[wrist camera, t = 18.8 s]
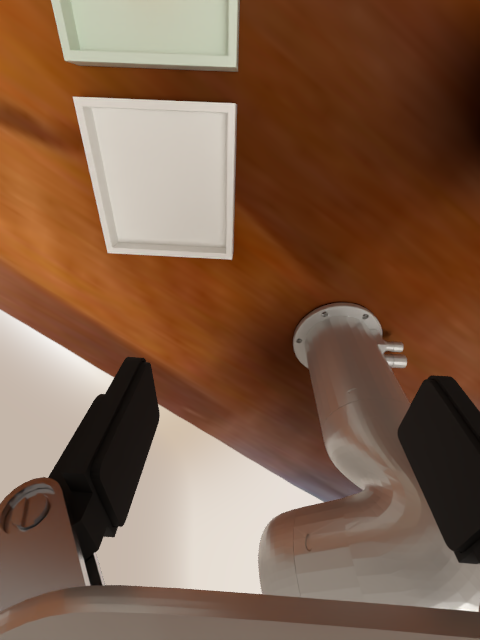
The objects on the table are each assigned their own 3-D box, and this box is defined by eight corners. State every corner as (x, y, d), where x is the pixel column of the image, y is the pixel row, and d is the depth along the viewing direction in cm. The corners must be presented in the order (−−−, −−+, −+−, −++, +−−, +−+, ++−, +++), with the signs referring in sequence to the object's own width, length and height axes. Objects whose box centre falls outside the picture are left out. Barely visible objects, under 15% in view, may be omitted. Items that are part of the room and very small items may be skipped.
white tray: (237, 104, 29) (235, 103, 27) (233, 251, 37) (232, 259, 35) (86, 98, 29) (72, 96, 27) (116, 245, 37) (107, 252, 35)
